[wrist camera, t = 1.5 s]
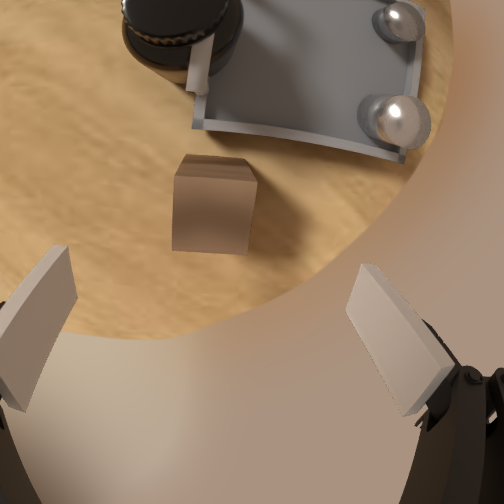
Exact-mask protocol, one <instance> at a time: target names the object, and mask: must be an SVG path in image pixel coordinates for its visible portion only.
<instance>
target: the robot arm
mask: <svg viewBox="0 0 504 504" xmlns="http://www.w3.org/2000/svg"><path fill="white" fill-rule="evenodd" d="M77 299H78V297H77V292H76V287H75V283H74V278H73V272H72V267H71V261H70V256H69V249H68V246H65V245H53V246H52V247H51V248H50V250H49V251H48V252H47V253H46V254H45V255H44V256H43V257H42V258H41V260H40V261H39V262H38V263H37V264H36V265H35V267H34V268H33V269H32V270H31V271H30V272H29V274H28V275H27V276H26V277H25V278H24V280H23V281H22V282H21V283H20V285H19V286H18V287H17V288H16V290H15V291H14V292H13V294H12V295H11V296H10V298H9V299H8V300H7V301H6V302H5V301H3V302H2V303H0V400H1V398H3V399H4V400H5V402H6V403H7V405H8V406H9V407H11V408H14V409H16V410H19V411H22V412H25V413H26V410H27V407H28V404H29V402H30V399H31V396H32V394H33V391H34V389H35V386H36V384H37V381H38V379H39V377H40V374H41V372H42V369H43V367H44V365H45V363H46V360H47V358H48V356H49V354H50V352H51V349H52V347H53V345H54V343H55V341H56V339H57V337H58V335H59V333H60V331H61V329H62V327H63V325H64V323H65V321H66V319H67V317H68V315H69V313H70V311H71V310H72V308H73V306H74V304H75V302H76V300H77ZM345 312H346V314H347V315H348V317H349V319H350V321H351V322H352V324H353V326H354V327H355V329H356V331H357V333H358V335H359V336H360V338H361V340H362V342H363V344H364V345H365V347H366V349H367V351H368V353H369V354H370V356H371V358H372V360H373V361H374V363H375V365H376V367H377V369H378V371H379V373H380V375H381V377H382V378H383V380H384V382H385V384H386V386H387V388H388V390H389V392H390V394H391V395H392V398H393V399H394V401H395V403H396V405H397V407H398V409H399V411H400V413H401V415H402V417H405V416H408V415H412V414H415V413H417V412H418V411H419V410H420V409H421V408H422V407H423V405H424V404H425V403H426V405H427V407H428V410H427V411H426V412H425V413H424V414H423V415H422V416H421V418H420V419H419V420H418V421H417V422H416V424H415V426H416V427H417V426H418V425H419V424H420V423H421V422H422V421H423V423H422V426H421V427H420V428H421V432H420V436H419V441H418V444H417V449H416V452H415V456H414V460H413V463H412V466H411V470H410V473H409V476H408V479H407V482H406V486H405V488H404V491H403V494H402V497H401V500H400V502H399V504H504V368H498V369H497V370H496V371H495V373H494V374H493V375H492V376H491V377H483V376H482V374H481V373H480V372H479V371H478V370H477V369H475V368H474V367H472V366H463V367H462V366H461V364H460V363H459V362H458V361H457V359H456V358H455V357H454V355H453V354H452V352H451V351H450V350H449V348H448V347H447V346H446V344H445V343H443V340H442V339H441V338H440V337H438V334H437V333H436V331H435V330H434V329H433V328H432V326H430V325H429V324H428V323H426V322H425V321H424V320H423V319H421V318H420V317H419V316H418V315H417V314H416V312H415V311H414V310H413V308H412V307H411V306H410V305H409V304H408V303H407V301H406V300H405V299H404V298H403V296H402V295H401V294H400V293H399V292H398V290H396V288H395V287H394V286H393V285H392V283H391V282H390V281H389V280H388V279H387V278H386V277H385V276H384V274H383V273H382V272H381V271H380V270H379V269H378V267H377V266H376V265H375V264H361V267H360V270H359V273H358V276H357V279H356V282H355V284H354V287H353V290H352V293H351V296H350V299H349V301H348V304H347V306H346V309H345ZM495 411H496V413H497V418H496V419H495V420H494V421H493V422H492V423H489V418H490V417H491V415H492V414H493V413H494V412H495ZM0 504H42V503H41V501H40V499H39V497H38V496H37V494H36V492H35V490H34V488H33V486H32V484H31V482H30V480H29V478H28V475H27V473H26V471H25V469H24V467H23V465H22V462H21V460H20V457H19V455H18V452H17V450H16V447H15V445H14V442H13V439H12V437H11V434H10V431H9V428H8V425H7V422H6V419H5V415H4V412H3V409H2V408H1V406H0Z"/></svg>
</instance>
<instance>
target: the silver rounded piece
mask: <svg viewBox="0 0 504 504" xmlns="http://www.w3.org/2000/svg"><path fill="white" fill-rule="evenodd" d="M357 120H358V124H359V126H360V128H361V129H362V131H363V132H364V133H365V134H366V135H368V136H369V137H371V138H374V139H378V140H381V141H384V142H388V143H391V144H394V145H397V146H400V147H403V148H406V149H416V148H419V147H420V146H422V145H423V144H424V143H425V142H426V140H427V139H428V137H429V134H430V130H431V118H430V114H429V111H428V109H427V107H426V106H425V104H424V103H423V102H422V101H421V100H420V99H418V98H416V97H414V96H407V95H389V94H371V95H368V96H366V97H365V98H364V99H363V100H362V101H361V102H360V104H359V106H358V110H357Z"/></svg>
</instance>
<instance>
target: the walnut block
mask: <svg viewBox="0 0 504 504" xmlns="http://www.w3.org/2000/svg"><path fill="white" fill-rule="evenodd" d="M257 184H258V182H257V180H256V178H255V176H254V175H253V173H252V171H251V169H250V168H249V166H248V164H247V162H246V161H245V159H241V158H231V157H219V156H207V155H192V154H186V155H185V157H184V159H183V161H182V163H181V164H180V166H179V168H178V170H177V172H176V174H175V176H174V193H173V219H172V251H186V252H202V253H219V254H236V255H247V253H248V246H249V239H250V232H251V226H252V219H253V212H254V205H255V198H256V191H257Z"/></svg>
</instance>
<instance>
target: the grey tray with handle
mask: <svg viewBox="0 0 504 504" xmlns="http://www.w3.org/2000/svg"><path fill="white" fill-rule="evenodd" d="M241 1H242V4H243V8H244V23H243V28H242V31H241V34H240V37H239V39H238V42H237V44H236V47H235V50H234V52H233V55H232V57H231V59H230V60H229V62H228V63H227V64H226V65H225V67H224V68H223V69H222V70H220V71H219V72H218V73H216V74H215V75H213V76H212V77H210V76H208V72H209V65H210V59H211V52H212V46H213V40H214V34H215V33H214V34H213V35H211V36H210V37H209V38H207V39H205V40H204V41H202V42H200V43H198V44H195V45H193V46H192V49H191V56H190V62H189V69H188V77H187V84H186V91H192V92H195V93H196V96H195V104H194V113H193V122H192V129H201V130H214V131H226V132H236V133H245V134H254V135H262V136H269V137H276V138H283V139H290V140H296V141H302V142H308V143H313V144H319V145H324V146H329V147H334V148H339V149H344V150H349V151H353V152H358V153H362V154H366V155H370V156H375V157H379V158H382V159H386V160H390V161H394V162H398V163H401V164H404V162H405V158H406V154H407V149H406V148H403V147H400V146H397V145H394V144H391V143H388V142H384V141H381V140H378V139H374V138H371V137H369V136H368V135H366V134H365V133H364V132H363V131H362V129H361V128H360V126H359V124H358V120H357V110H358V106H359V104H360V102H361V101H362V100H363V99H364V98H365V97H366V96H368V95H371V94H389V95H407V96H414V97H416V98H417V94H418V87H419V80H420V72H421V63H422V53H423V41H424V36H423V37H422V38H421V39H420V40H416V41H410V42H405V43H400V44H390V43H387V42H385V41H384V40H382V39H381V38H380V37H379V36H378V35H377V34H376V32H375V30H374V28H373V25H372V16H373V14H374V12H375V11H377V10H379V9H381V8H383V7H386V6H388V5H391V4H393V3H396V2H406V3H408V4H410V5H412V6H413V7H414V8H416V9H417V10H418V12H419V13H420V14H421V16H422V18H423V20H424V23H425V9H424V8H422V7H420V6H419V5H417V4H415V3H413V2H411V1H409V0H241Z"/></svg>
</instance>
